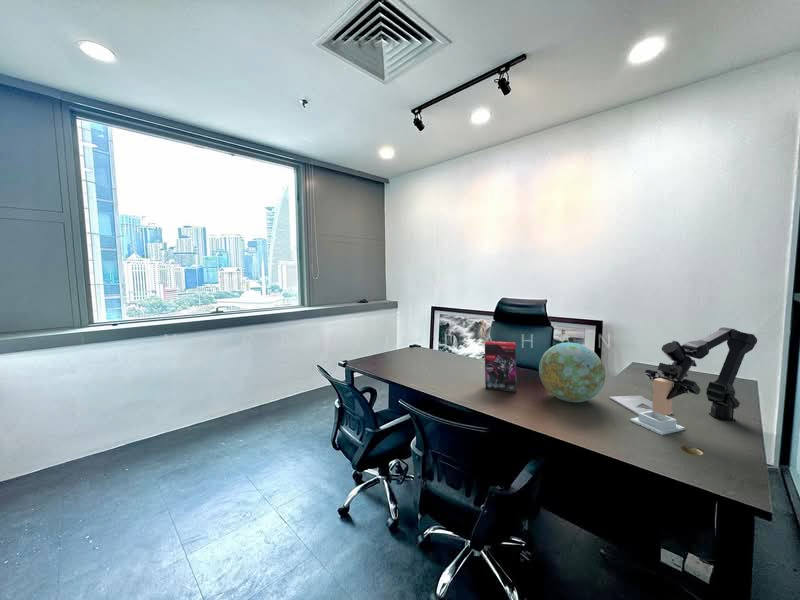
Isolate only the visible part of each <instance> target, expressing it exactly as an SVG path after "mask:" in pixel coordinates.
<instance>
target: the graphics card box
mask: <svg viewBox="0 0 800 600" xmlns="http://www.w3.org/2000/svg"><path fill="white" fill-rule="evenodd" d="M484 376H485V377H484V379H485V380H484V382H485V383H484V384H485V390H490V391H503V392H517V344H516V342H515V341H492V340H491V341H489V340H485V342H484Z"/></svg>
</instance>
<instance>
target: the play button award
mask: <svg viewBox="0 0 800 600" xmlns="http://www.w3.org/2000/svg"><path fill="white" fill-rule="evenodd" d="M608 398H610V399H609V400H611V399H612V400H611V401H613V402H614V403H616V402H617V403H616V404H618V403H619V404H618V405H619V406H621V405H622V406H621V407H623V408H625V409H626V408H627V409H626V410H627V411H630V412H631V413H633V414H635V415H636V414H637V415H636V416H638V414H639V413H642V412H647V411H652V404H653V400H650V399H648V398H646V397H644V396H642V395H624V396H623V395H621V396H620V395H619V396H618V395H617V396H616V395H615V396H609V397H608ZM641 405H645V406H647V407H648V408H650V409H645V408H641V407H639V406H641ZM672 415H674V411H672Z"/></svg>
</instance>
